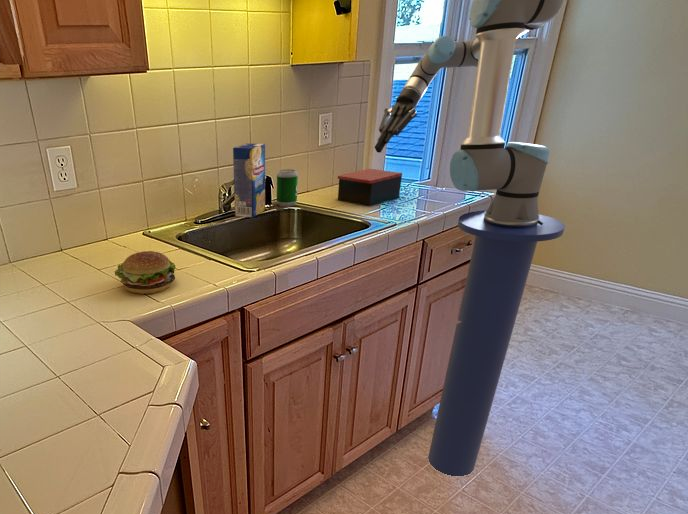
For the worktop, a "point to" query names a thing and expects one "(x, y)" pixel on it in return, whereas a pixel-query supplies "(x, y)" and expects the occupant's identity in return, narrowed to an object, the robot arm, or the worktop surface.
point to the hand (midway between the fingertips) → (377, 149)
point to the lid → (369, 176)
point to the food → (146, 272)
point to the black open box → (369, 191)
